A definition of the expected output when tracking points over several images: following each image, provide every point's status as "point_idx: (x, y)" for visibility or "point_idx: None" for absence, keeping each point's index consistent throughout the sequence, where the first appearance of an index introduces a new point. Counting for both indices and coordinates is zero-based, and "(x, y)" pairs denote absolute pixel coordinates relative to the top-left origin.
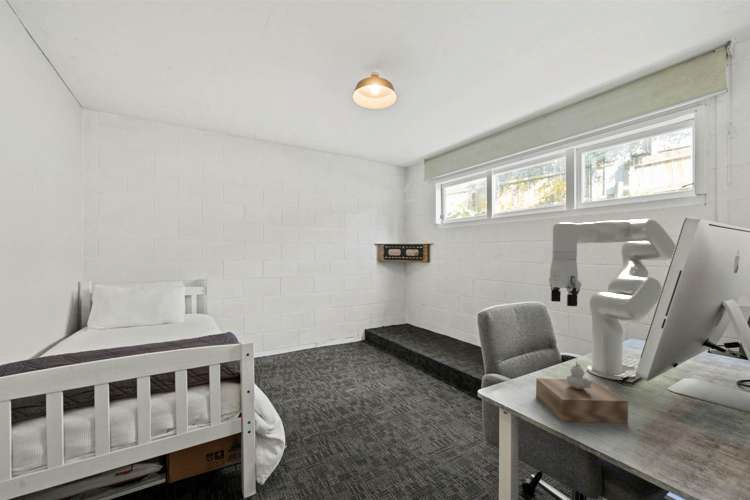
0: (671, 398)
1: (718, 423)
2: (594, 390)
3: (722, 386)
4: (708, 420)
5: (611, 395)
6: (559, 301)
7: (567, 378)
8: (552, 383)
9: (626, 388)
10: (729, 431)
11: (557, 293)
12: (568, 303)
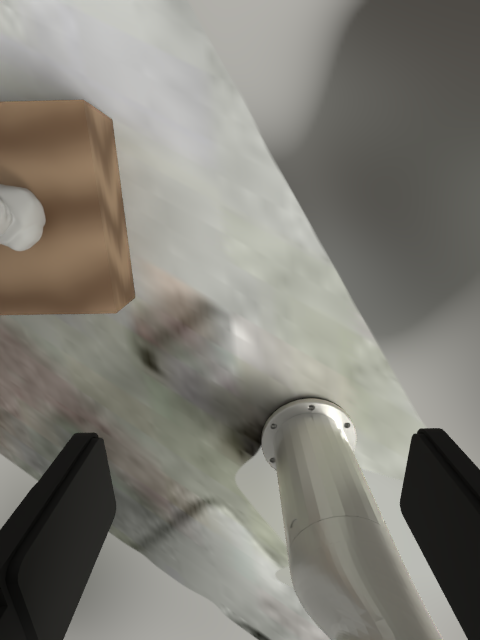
0: (169, 476)
1: None
2: (26, 265)
3: (244, 603)
4: None
5: (2, 294)
6: (403, 499)
7: (15, 187)
8: (47, 144)
9: (212, 422)
10: (40, 466)
11: (471, 589)
12: (64, 455)
